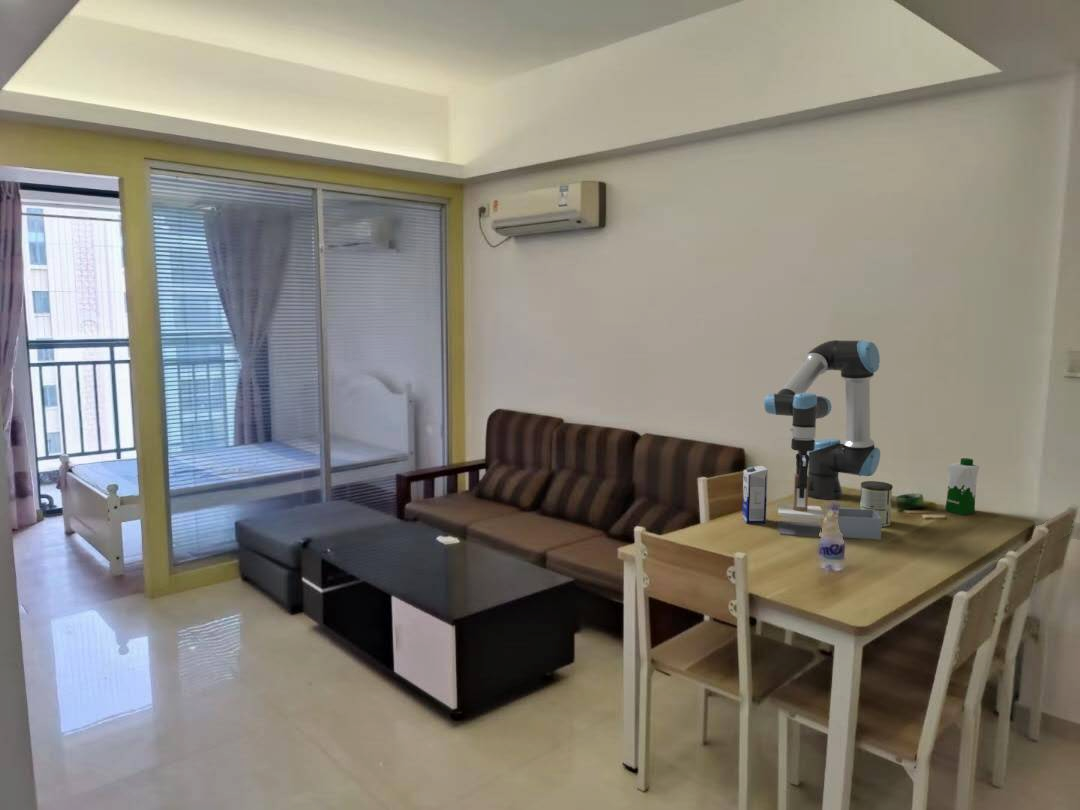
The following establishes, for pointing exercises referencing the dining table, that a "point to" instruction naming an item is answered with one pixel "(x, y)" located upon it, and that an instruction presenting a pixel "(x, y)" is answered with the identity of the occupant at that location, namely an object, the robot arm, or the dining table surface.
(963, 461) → the soya milk
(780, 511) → the lid
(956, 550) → the dining table surface
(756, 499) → the milk carton
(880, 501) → the coffee can
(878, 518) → the box
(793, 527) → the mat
